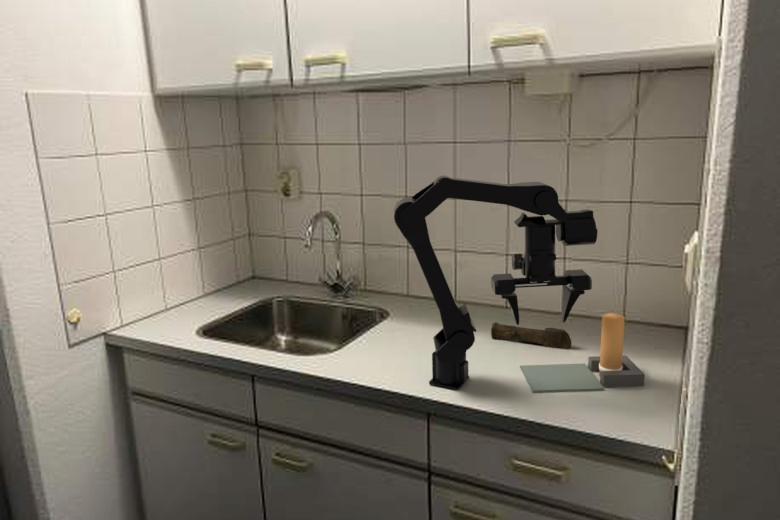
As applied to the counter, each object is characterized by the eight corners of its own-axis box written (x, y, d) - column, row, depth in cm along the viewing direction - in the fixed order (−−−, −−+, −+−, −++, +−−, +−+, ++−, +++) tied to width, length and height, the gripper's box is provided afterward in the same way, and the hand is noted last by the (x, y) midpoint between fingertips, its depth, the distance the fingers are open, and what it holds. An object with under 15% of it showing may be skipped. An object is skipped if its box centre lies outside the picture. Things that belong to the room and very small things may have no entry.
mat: (532, 392, 117) (532, 390, 117) (519, 367, 129) (519, 365, 128) (604, 390, 117) (604, 388, 117) (584, 365, 128) (584, 363, 128)
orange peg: (602, 381, 120) (606, 320, 117) (595, 372, 125) (598, 313, 122) (625, 380, 120) (629, 320, 117) (616, 371, 125) (620, 312, 122)
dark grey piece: (603, 387, 118) (604, 375, 117) (588, 367, 127) (588, 356, 127) (643, 385, 118) (644, 374, 117) (625, 366, 127) (626, 355, 127)
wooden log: (489, 340, 145) (489, 322, 144) (495, 335, 148) (495, 317, 147) (567, 354, 135) (568, 335, 134) (572, 348, 139) (572, 329, 137)
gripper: (576, 236, 124) (575, 307, 127) (486, 241, 124) (488, 312, 128) (593, 248, 113) (592, 325, 116) (494, 253, 113) (496, 330, 117)
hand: (540, 322), depth 120 cm, fingers open, 9 cm apart
